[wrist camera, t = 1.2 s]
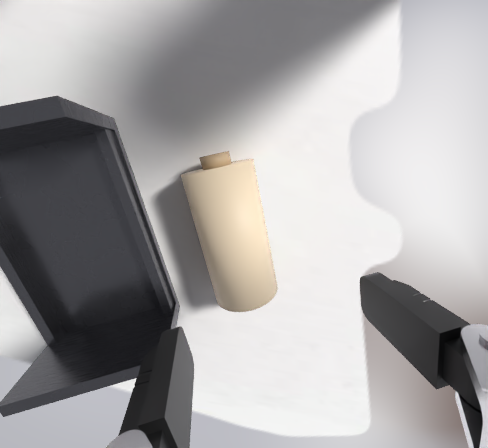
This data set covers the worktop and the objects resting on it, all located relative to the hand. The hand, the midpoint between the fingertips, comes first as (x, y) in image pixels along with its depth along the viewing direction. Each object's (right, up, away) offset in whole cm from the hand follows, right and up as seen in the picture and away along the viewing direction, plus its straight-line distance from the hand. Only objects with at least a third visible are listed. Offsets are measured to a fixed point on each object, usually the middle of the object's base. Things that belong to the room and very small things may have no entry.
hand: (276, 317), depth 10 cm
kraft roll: (-2, +4, +14) cm, 14 cm away
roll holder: (-16, +3, +12) cm, 20 cm away
